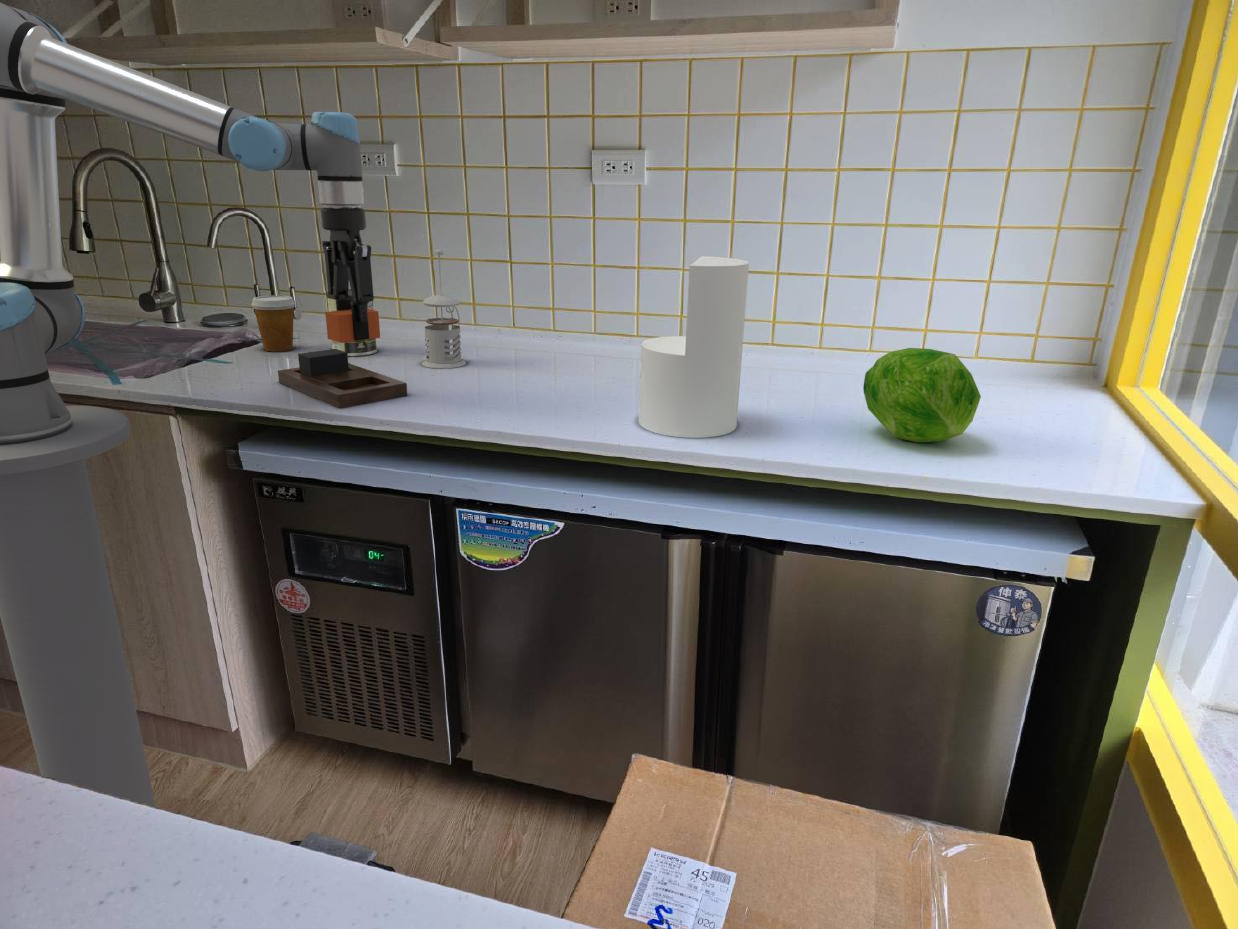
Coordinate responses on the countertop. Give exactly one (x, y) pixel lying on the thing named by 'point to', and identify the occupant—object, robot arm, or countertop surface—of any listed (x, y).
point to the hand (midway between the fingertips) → (354, 336)
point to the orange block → (349, 325)
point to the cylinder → (698, 357)
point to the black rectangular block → (323, 362)
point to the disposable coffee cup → (275, 321)
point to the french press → (442, 333)
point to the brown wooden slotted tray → (345, 386)
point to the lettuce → (921, 394)
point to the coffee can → (356, 346)
